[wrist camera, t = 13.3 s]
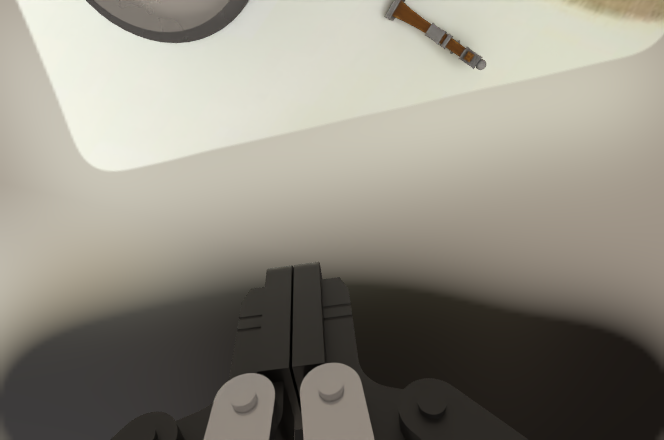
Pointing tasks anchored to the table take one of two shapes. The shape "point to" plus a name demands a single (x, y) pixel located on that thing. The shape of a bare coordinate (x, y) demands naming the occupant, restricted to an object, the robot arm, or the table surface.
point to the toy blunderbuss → (434, 33)
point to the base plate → (196, 33)
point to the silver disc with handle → (164, 12)
